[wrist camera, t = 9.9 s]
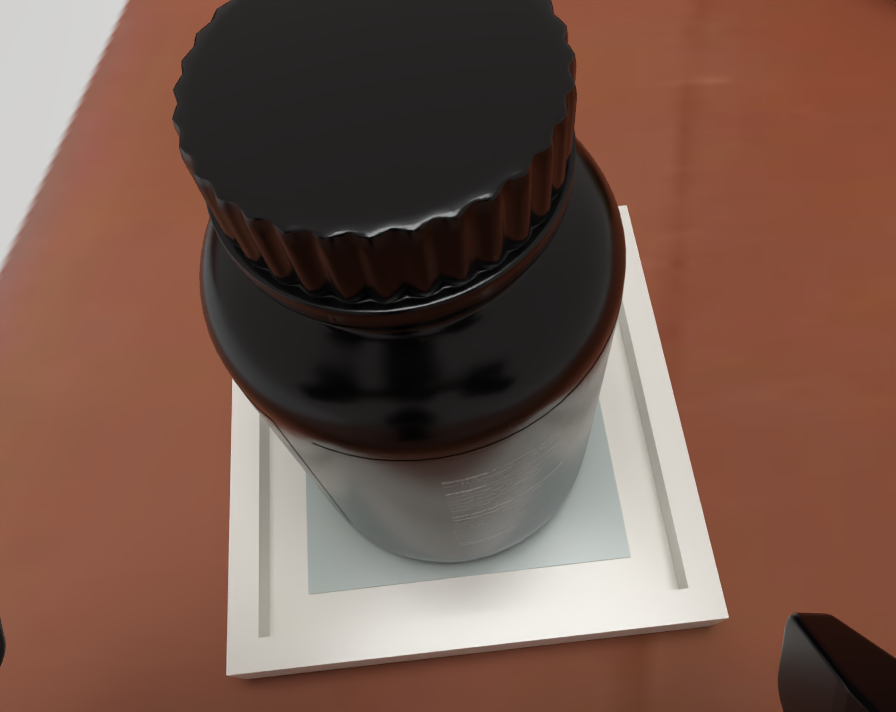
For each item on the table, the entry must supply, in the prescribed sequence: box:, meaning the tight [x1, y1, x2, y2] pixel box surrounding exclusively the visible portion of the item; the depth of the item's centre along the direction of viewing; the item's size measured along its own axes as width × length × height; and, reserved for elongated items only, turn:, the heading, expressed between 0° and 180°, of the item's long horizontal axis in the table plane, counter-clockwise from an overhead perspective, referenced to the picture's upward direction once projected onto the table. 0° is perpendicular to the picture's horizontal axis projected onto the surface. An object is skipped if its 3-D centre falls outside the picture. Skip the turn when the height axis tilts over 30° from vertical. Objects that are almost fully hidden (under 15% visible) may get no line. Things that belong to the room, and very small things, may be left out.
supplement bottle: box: [172, 0, 626, 562], centre depth 14 cm, size 7×7×12 cm
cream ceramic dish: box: [226, 205, 729, 679], centre depth 20 cm, size 11×11×2 cm
